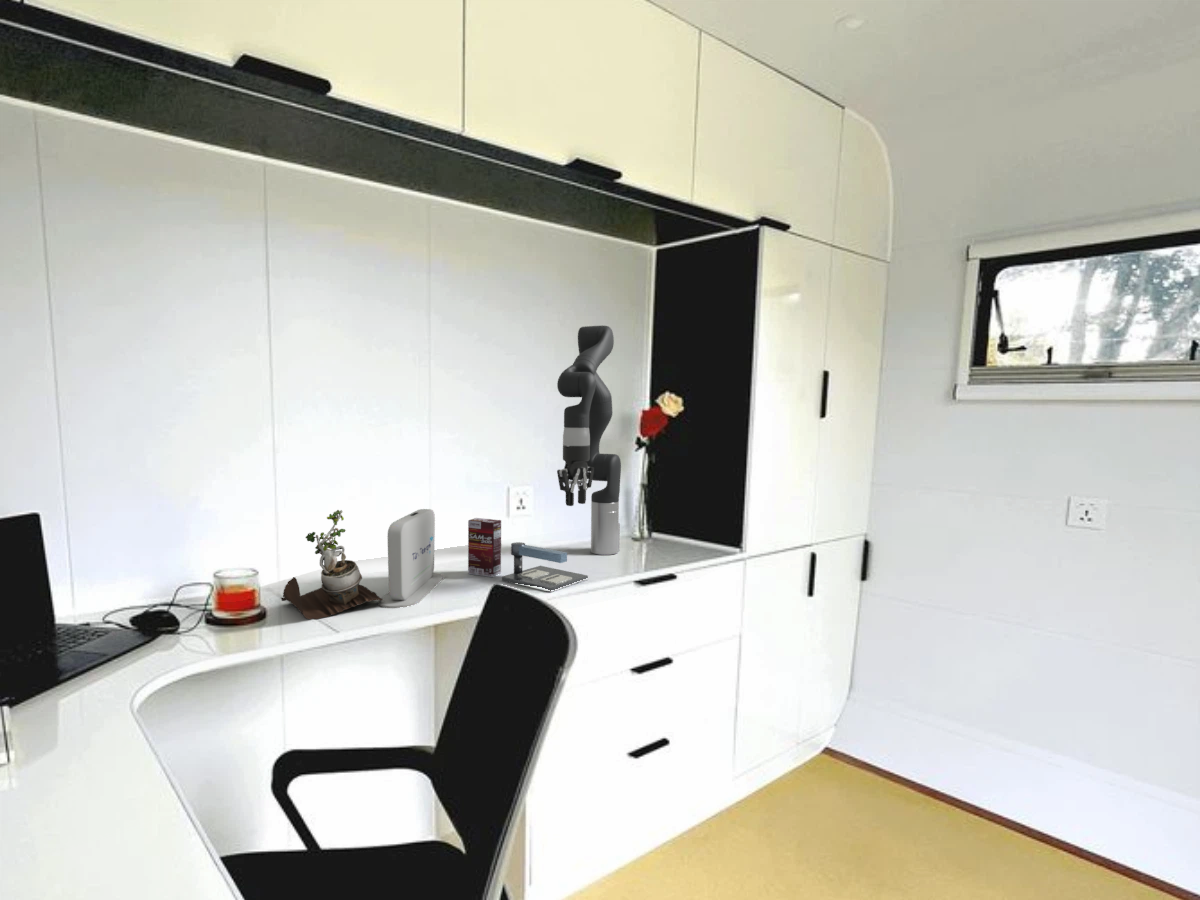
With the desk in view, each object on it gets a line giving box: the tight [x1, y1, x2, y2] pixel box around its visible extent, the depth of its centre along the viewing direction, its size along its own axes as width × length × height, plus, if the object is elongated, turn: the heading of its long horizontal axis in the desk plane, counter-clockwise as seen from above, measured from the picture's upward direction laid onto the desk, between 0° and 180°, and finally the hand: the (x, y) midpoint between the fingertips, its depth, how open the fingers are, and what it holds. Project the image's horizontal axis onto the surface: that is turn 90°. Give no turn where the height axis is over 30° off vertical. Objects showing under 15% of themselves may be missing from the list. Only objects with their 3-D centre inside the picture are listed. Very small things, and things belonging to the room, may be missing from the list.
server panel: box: [501, 555, 589, 591], centre depth 177 cm, size 16×19×6 cm
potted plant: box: [280, 509, 385, 620], centre depth 150 cm, size 20×19×25 cm
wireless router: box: [377, 508, 445, 609], centre depth 166 cm, size 31×10×20 cm, turn 178°
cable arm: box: [510, 541, 568, 564], centre depth 176 cm, size 19×4×3 cm, turn 53°
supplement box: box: [467, 517, 502, 578], centre depth 183 cm, size 9×5×16 cm, turn 68°
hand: (575, 504), depth 177 cm, fingers open, 4 cm apart
